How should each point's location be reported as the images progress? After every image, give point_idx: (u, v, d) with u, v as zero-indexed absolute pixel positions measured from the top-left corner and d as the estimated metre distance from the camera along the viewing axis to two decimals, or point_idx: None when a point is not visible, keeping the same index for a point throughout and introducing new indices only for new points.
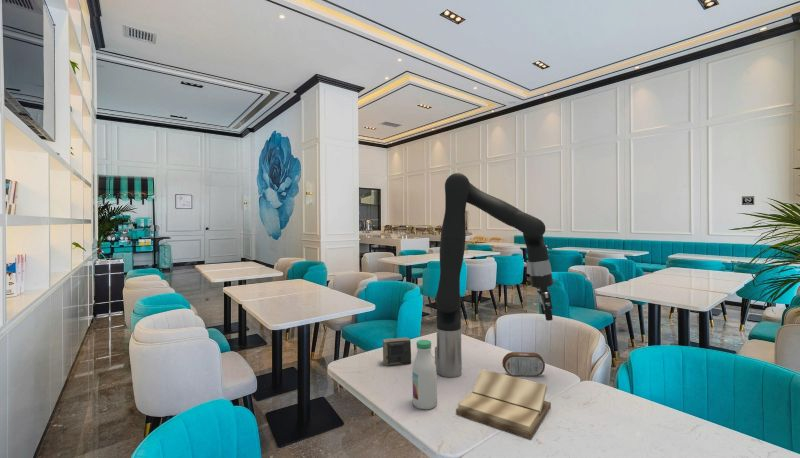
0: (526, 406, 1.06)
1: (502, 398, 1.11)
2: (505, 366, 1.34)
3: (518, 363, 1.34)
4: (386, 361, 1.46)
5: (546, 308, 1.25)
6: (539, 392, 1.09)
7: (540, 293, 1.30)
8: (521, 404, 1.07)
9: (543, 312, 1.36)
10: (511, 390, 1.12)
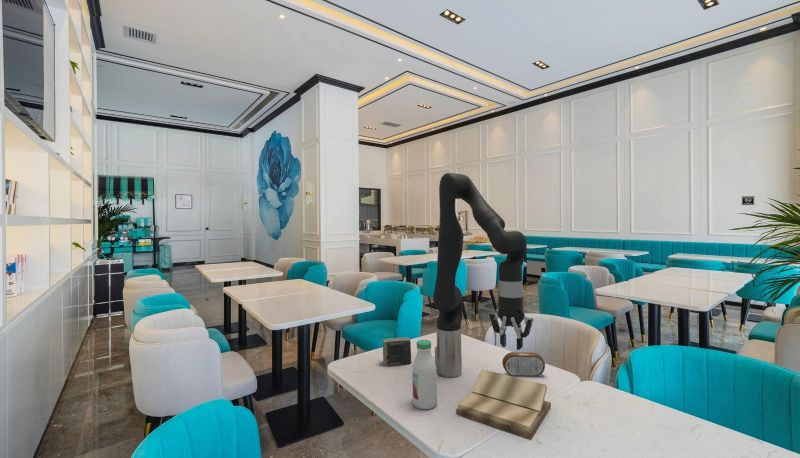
0: (526, 406, 1.06)
1: (502, 398, 1.11)
2: (505, 366, 1.34)
3: (518, 363, 1.34)
4: (386, 361, 1.46)
5: None
6: (539, 392, 1.09)
7: None
8: (521, 404, 1.07)
9: None
10: (511, 390, 1.12)
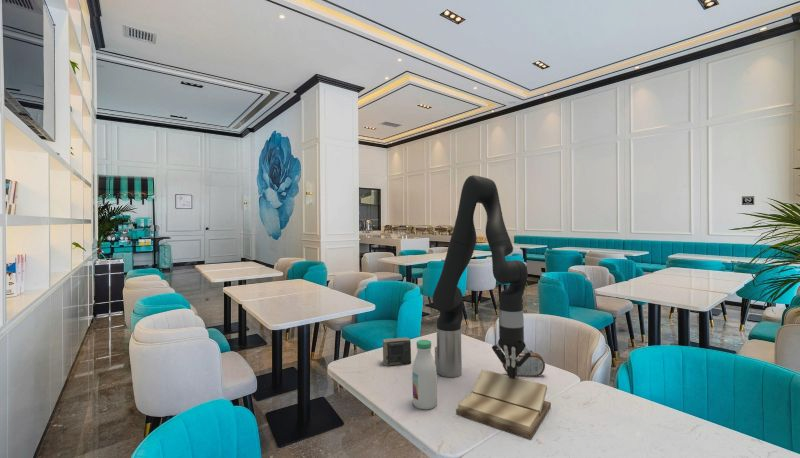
0: (526, 406, 1.06)
1: (502, 398, 1.11)
2: (505, 366, 1.34)
3: None
4: (386, 361, 1.46)
5: None
6: (539, 392, 1.09)
7: None
8: (521, 404, 1.07)
9: None
10: (511, 390, 1.12)
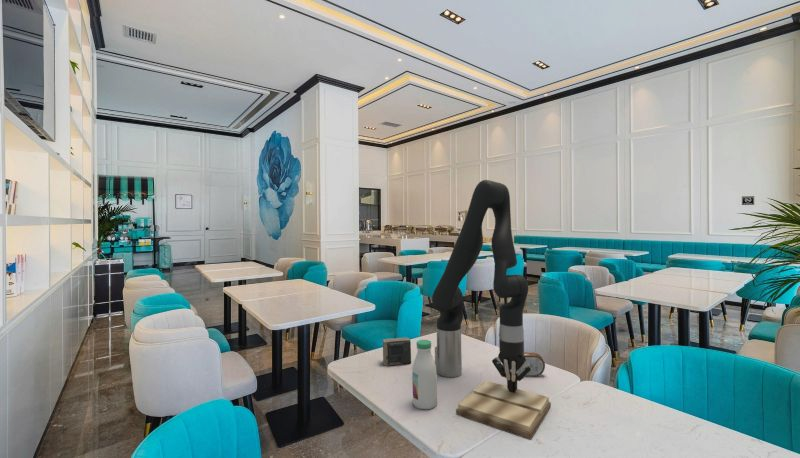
0: (527, 405, 1.07)
1: (503, 398, 1.12)
2: None
3: None
4: (386, 361, 1.46)
5: None
6: (541, 400, 1.10)
7: None
8: (522, 404, 1.08)
9: None
10: (513, 395, 1.13)
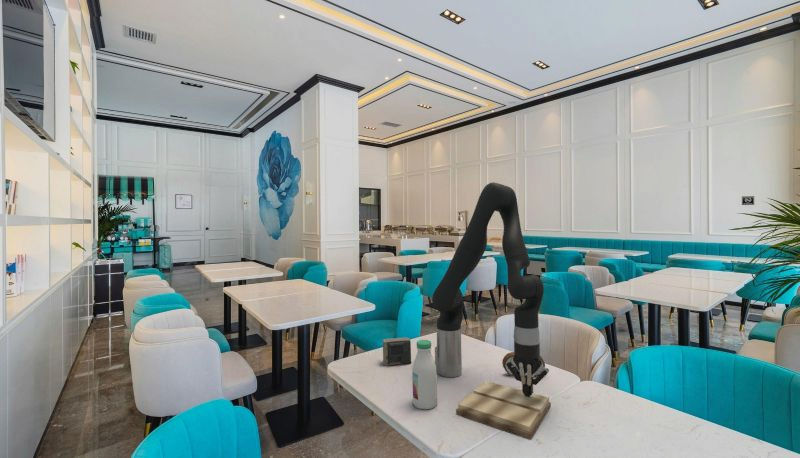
0: (527, 405, 1.07)
1: (503, 398, 1.12)
2: (505, 366, 1.34)
3: None
4: (386, 361, 1.46)
5: None
6: (541, 400, 1.10)
7: None
8: (522, 404, 1.08)
9: None
10: (513, 395, 1.13)
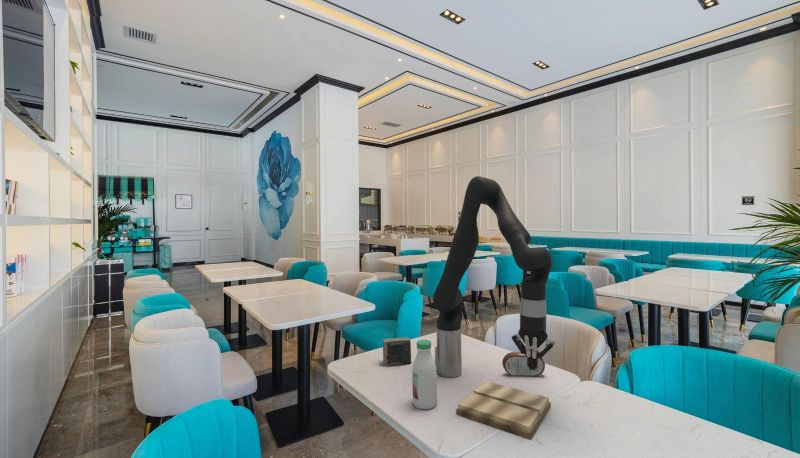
0: (527, 405, 1.07)
1: (503, 398, 1.12)
2: (505, 366, 1.34)
3: (518, 363, 1.34)
4: (386, 361, 1.46)
5: None
6: (541, 400, 1.10)
7: None
8: (522, 404, 1.08)
9: None
10: (513, 395, 1.13)
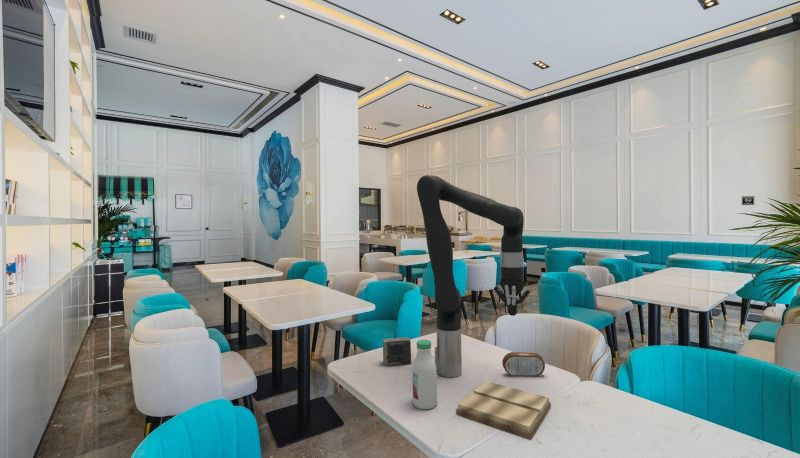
0: (527, 405, 1.07)
1: (503, 398, 1.12)
2: (505, 366, 1.34)
3: (518, 363, 1.34)
4: (386, 361, 1.46)
5: None
6: (541, 400, 1.10)
7: None
8: (522, 404, 1.08)
9: None
10: (513, 395, 1.13)
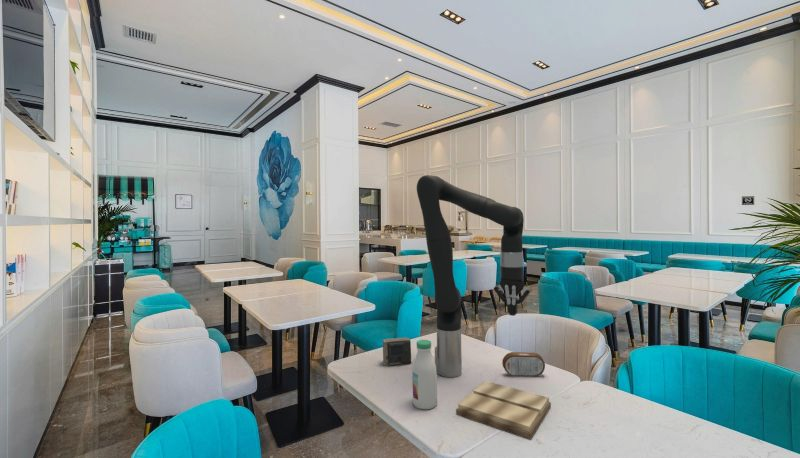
0: (527, 405, 1.07)
1: (503, 398, 1.12)
2: (505, 366, 1.34)
3: (518, 363, 1.34)
4: (386, 361, 1.46)
5: None
6: (541, 400, 1.10)
7: None
8: (522, 404, 1.08)
9: None
10: (513, 395, 1.13)
